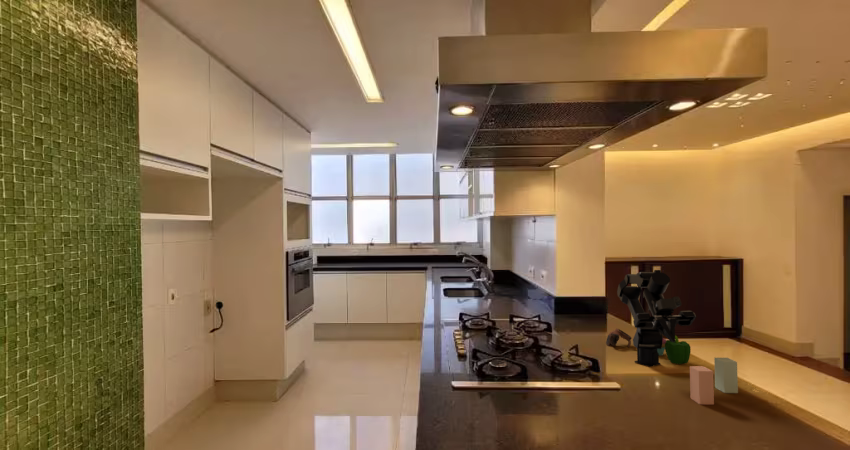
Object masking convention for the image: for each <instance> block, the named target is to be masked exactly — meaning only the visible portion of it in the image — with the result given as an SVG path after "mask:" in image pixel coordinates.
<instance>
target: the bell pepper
mask: <svg viewBox="0 0 850 450" xmlns="http://www.w3.org/2000/svg"><path fill="white" fill-rule="evenodd" d="M664 352H665V354H666V358H667V359H668V360H669V362H671V363H672V364H675V365H683V364H688V363H689V361H690V356H691V345H690V343H688V342H687V341H685V340H682V341H681V340H680V341H679V337H678V336H677V335H675V342H671V341H670V340H669V339H666V343H665V350H664Z"/></svg>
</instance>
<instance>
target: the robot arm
mask: <svg viewBox="0 0 850 450" xmlns="http://www.w3.org/2000/svg"><path fill="white" fill-rule="evenodd" d="M670 282H671V277H670V276H669V275H667V274H666V273H664V272H662V270H661V269H654V270H653V271H638V272H636V273H628V274H625V275H624V279H622V280H621V281H620V282H619V283H618V287H617V291H616V294H617V297H618V298H619V300H620V301H621V303H623V304H625V305H626V306H627V308H628V310H629V312H630V314H631V317H632V319H633V325H634V328H635V329H636V331H635V333H634V336H633V338H632V344H633V346H634V347H635V348H636V355H637V356H636V357H637V359H636V360H634V363H635V364H640V365H643V366H646V367H648V368H649V367H655V366H659V365H661V362H660V360H659V359H660V358H659V357H660V355H659V353H658V349H661V347H662V341H663V338H664V337H665V338H667V340H670V341H671V342H675V336H676V326H677V325H678V326H680V327H686V326H691V325H692V324H693V323H694V321H695V319H696V318H697V316H696V313H695V312H694V311H693V310H680V311H679V313H678V315H677V314H674V312H675V309H677V308H678V307H679V308H680V307H681V306H682V301H681V299H680V296H673V297H671V298H665V297H664V293H665V292H666V290H667V288H668V286H669V285H670ZM628 285H629V286H628ZM633 285H635V286H633ZM642 288H644V289H642ZM642 293H643V294H642ZM641 295H642V298H643V299H645V301H646V303H647V306H648V309H647V310H648V312H645V310H644V308H643V306H642V304H641V301H640V297H641ZM649 312H650V313H651V315H650V313H649ZM663 336H664V337H663Z"/></svg>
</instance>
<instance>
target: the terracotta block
mask: <svg viewBox="0 0 850 450" xmlns="http://www.w3.org/2000/svg"><path fill="white" fill-rule="evenodd" d="M689 387H690V388H689V389H690V391H689V392H690V394H689V395H690V399H691V400H692V401H694V402H695V403H696V404H698V405H715V399H714V398H715V396H714V393H715V392H714V390H715V389H714V388H715V385H714V371H713V370H712V369H709V368H707V367H705V366H703V365H702V366H701V365H697V366H695V365H694V366H693V365H692V366H689Z"/></svg>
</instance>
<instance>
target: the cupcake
mask: <svg viewBox="0 0 850 450" xmlns="http://www.w3.org/2000/svg"><path fill="white" fill-rule="evenodd" d="M666 341H667V339H665V338H664V337H663V341H662V347H661V349H658V353H659V356H663V355H664V352H665V343H666Z"/></svg>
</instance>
